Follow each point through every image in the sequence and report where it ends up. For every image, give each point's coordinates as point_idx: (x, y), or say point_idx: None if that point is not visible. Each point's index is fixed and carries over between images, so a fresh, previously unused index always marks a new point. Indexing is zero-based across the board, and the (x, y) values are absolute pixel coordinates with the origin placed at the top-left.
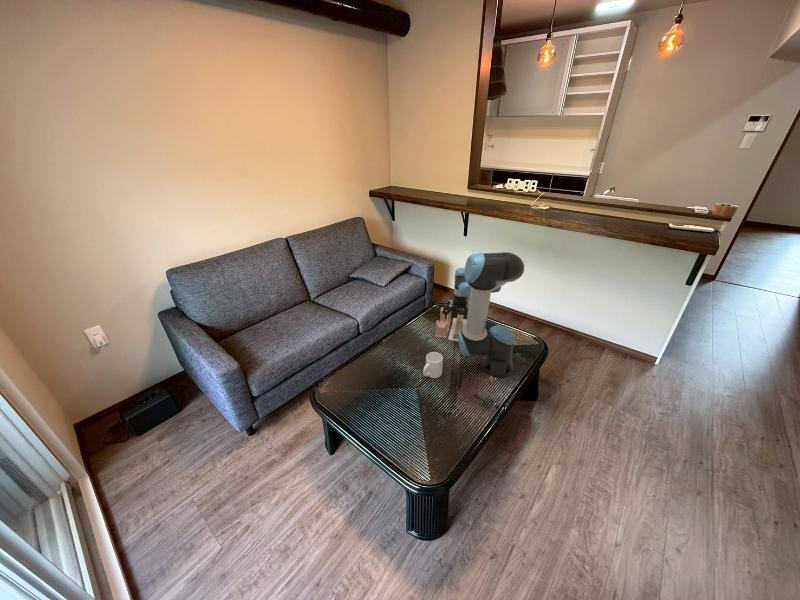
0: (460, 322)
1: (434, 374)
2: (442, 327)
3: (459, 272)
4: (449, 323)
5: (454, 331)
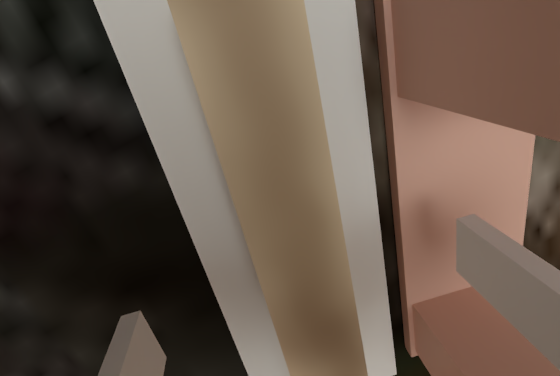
0: (298, 340)
1: None
2: None
3: None
4: (414, 285)
5: (303, 71)
